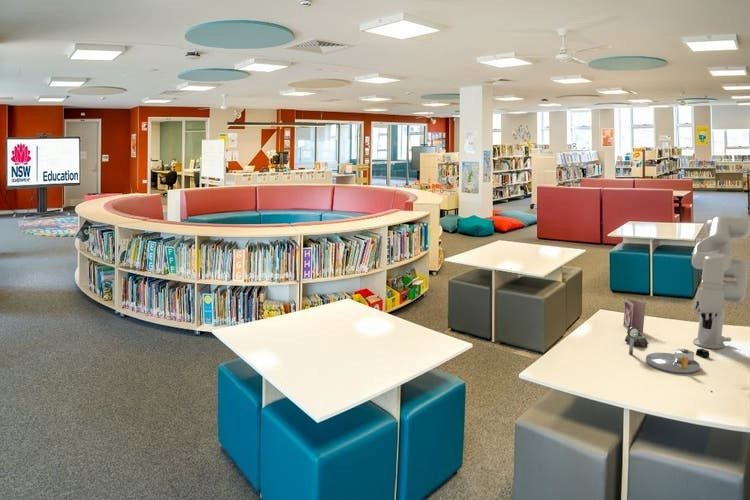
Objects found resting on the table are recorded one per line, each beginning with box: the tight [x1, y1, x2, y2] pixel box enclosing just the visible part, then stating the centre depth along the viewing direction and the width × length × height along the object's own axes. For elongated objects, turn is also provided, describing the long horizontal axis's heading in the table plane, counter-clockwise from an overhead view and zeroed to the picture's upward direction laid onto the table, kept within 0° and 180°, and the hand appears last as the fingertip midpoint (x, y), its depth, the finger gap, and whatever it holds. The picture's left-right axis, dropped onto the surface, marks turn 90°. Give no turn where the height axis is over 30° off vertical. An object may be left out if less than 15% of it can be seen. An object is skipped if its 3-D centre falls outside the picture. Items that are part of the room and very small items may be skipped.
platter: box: [645, 352, 701, 375], centre depth 230 cm, size 20×20×6 cm
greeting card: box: [622, 297, 646, 333], centre depth 279 cm, size 11×7×15 cm, turn 174°
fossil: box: [624, 331, 649, 348], centre depth 256 cm, size 11×9×10 cm
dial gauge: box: [626, 327, 647, 355], centre depth 242 cm, size 9×6×14 cm, turn 93°
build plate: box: [695, 348, 710, 359], centre depth 240 cm, size 12×7×5 cm, turn 18°
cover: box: [674, 348, 695, 364], centre depth 230 cm, size 7×7×5 cm
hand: (706, 328), depth 229 cm, fingers closed
